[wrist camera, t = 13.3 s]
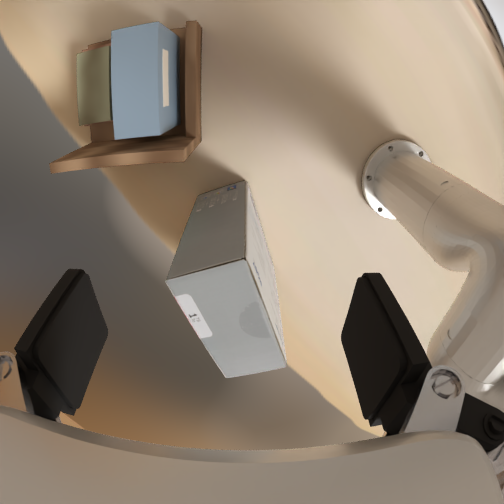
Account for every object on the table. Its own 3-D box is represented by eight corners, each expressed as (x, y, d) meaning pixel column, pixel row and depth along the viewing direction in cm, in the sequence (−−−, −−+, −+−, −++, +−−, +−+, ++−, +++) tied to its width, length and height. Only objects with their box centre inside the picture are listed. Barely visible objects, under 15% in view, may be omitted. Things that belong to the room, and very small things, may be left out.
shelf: (202, 28, 29) (184, 3, 19) (201, 141, 37) (183, 161, 27) (91, 45, 29) (42, 39, 18) (95, 149, 37) (50, 173, 27)
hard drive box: (195, 194, 41) (161, 277, 24) (247, 178, 40) (248, 253, 23) (230, 279, 49) (225, 380, 32) (275, 268, 48) (290, 368, 31)
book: (180, 37, 29) (159, 21, 20) (181, 123, 35) (160, 135, 26) (142, 42, 29) (111, 31, 20) (144, 126, 35) (114, 140, 26)
